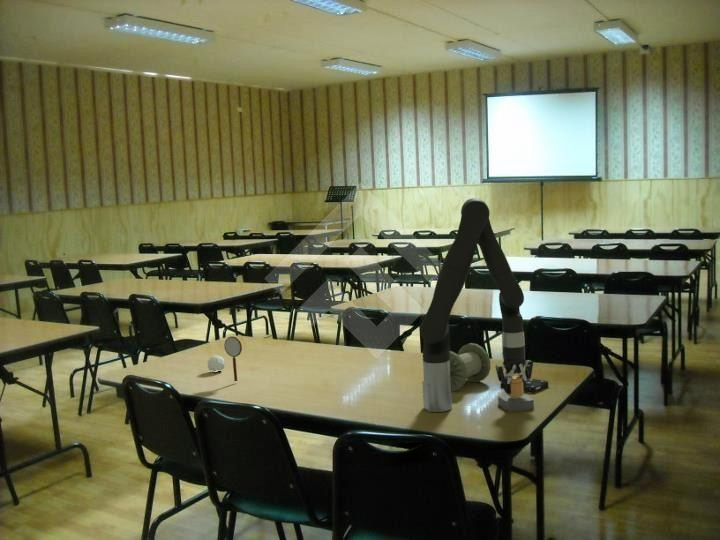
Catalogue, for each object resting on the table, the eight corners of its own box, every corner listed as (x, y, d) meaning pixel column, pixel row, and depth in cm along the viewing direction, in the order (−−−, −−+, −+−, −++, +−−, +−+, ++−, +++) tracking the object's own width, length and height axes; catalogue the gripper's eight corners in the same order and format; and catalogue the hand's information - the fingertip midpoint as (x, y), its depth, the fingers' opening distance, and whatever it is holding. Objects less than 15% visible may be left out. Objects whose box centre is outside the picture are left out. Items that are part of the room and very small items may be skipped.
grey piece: (509, 411, 252) (508, 391, 251) (498, 404, 261) (497, 385, 260) (533, 408, 254) (533, 388, 253) (522, 401, 263) (521, 382, 262)
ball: (220, 378, 333) (223, 366, 328) (203, 373, 333) (205, 361, 328) (226, 366, 339) (228, 354, 334) (209, 361, 339) (211, 349, 334)
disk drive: (549, 388, 279) (514, 382, 289) (548, 381, 278) (514, 375, 289) (534, 395, 271) (499, 388, 282) (534, 387, 271) (499, 381, 281)
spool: (460, 378, 299) (458, 341, 297) (491, 383, 288) (489, 345, 286) (433, 387, 287) (431, 349, 286) (465, 393, 277) (463, 354, 275)
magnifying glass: (245, 383, 311) (241, 336, 308) (243, 384, 309) (239, 337, 307) (229, 382, 315) (225, 335, 313) (226, 383, 313) (222, 336, 311)
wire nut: (520, 397, 253) (519, 380, 253) (506, 396, 256) (505, 379, 255) (525, 393, 258) (524, 376, 257) (511, 392, 260) (510, 375, 260)
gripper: (501, 349, 249) (503, 398, 251) (537, 343, 254) (539, 391, 256) (489, 345, 256) (491, 393, 258) (525, 339, 261) (527, 386, 263)
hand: (515, 392), depth 257 cm, fingers closed on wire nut, 5 cm apart
